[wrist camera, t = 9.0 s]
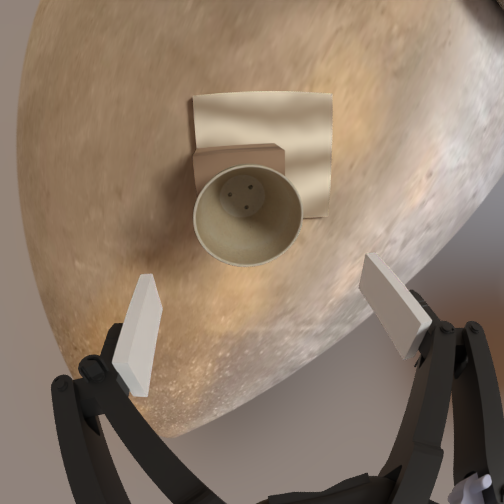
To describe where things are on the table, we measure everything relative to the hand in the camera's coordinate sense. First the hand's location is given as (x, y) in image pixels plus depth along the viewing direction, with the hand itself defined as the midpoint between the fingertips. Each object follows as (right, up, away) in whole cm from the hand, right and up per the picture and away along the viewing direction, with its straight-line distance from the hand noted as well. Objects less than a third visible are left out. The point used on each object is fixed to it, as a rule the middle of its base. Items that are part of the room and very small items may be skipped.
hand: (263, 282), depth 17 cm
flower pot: (-2, +8, +15) cm, 17 cm away
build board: (+1, +14, +19) cm, 24 cm away
